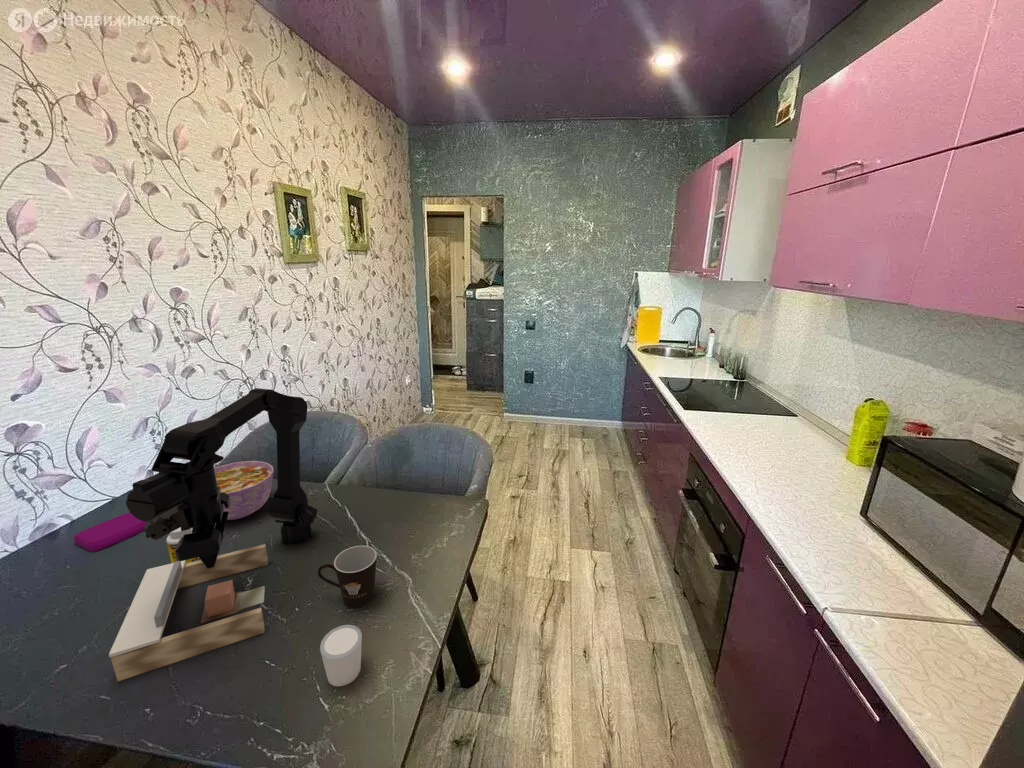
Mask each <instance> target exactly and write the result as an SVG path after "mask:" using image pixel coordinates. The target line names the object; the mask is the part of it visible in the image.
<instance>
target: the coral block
mask: <svg viewBox="0 0 1024 768" xmlns="http://www.w3.org/2000/svg"><path fill="white" fill-rule="evenodd" d="M235 592H236V591H235V588H234V582H233V579H230V580H226V581H223V582H219V583H215V584H212V585H208V586H207V589H206V593H205V597H204V605H205V604H206V609H207V614H208V617H211V616H214V615H217V614H221V613H224V612H227V611H231V610H233V607H234V600H235Z"/></svg>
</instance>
